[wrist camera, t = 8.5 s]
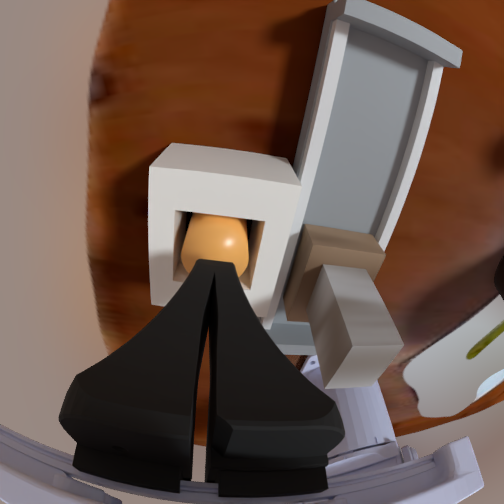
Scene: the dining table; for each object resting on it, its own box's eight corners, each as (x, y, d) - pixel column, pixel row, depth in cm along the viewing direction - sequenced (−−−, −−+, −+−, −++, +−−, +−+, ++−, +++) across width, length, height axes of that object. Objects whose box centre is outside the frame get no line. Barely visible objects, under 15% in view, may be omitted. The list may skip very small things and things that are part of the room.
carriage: (342, 301, 18) (375, 395, 12) (282, 296, 18) (299, 400, 12) (372, 234, 15) (431, 326, 10) (304, 223, 15) (343, 326, 9)
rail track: (333, 325, 21) (342, 357, 19) (254, 321, 21) (256, 354, 18) (429, 47, 11) (463, 47, 8) (327, 4, 10) (348, -10, 7)
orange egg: (242, 240, 16) (243, 287, 13) (191, 234, 16) (180, 280, 13) (250, 194, 15) (254, 233, 12) (195, 187, 15) (182, 224, 11)
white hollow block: (261, 269, 18) (266, 317, 15) (162, 258, 17) (147, 303, 14) (286, 158, 14) (302, 186, 11) (167, 142, 14) (144, 166, 10)
